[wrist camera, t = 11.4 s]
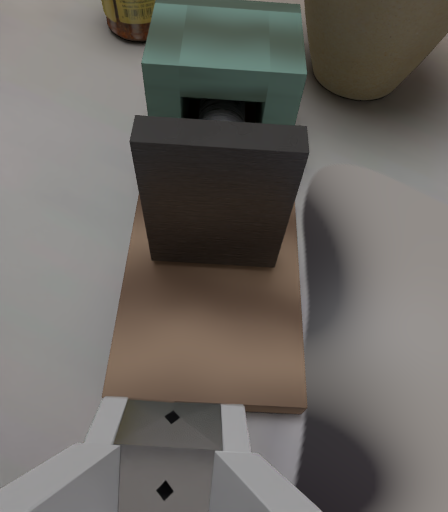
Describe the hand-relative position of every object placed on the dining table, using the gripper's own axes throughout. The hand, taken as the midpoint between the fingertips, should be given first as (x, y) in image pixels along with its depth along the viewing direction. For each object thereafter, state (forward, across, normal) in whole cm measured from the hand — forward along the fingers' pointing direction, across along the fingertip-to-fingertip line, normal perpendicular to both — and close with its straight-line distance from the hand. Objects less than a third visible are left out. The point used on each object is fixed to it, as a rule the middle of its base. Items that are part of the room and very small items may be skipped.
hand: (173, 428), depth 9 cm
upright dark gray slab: (+20, -1, -5) cm, 21 cm away
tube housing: (+20, -1, -1) cm, 20 cm away
